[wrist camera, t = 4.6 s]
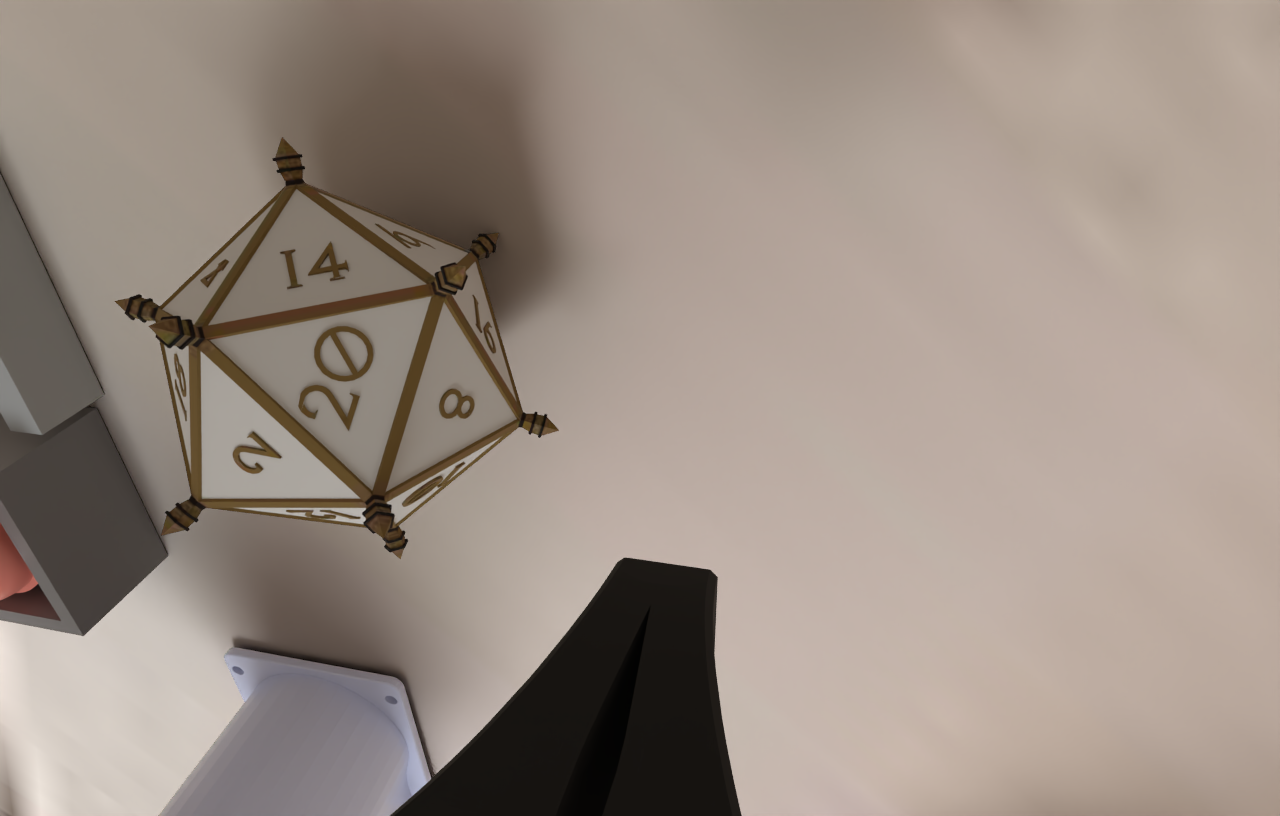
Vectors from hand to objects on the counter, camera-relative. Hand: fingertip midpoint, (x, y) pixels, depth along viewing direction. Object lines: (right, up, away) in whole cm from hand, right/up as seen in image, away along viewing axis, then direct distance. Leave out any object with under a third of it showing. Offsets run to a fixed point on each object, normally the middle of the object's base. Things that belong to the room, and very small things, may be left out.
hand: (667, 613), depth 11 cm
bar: (-19, +7, +12) cm, 24 cm away
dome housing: (-22, 0, +17) cm, 28 cm away
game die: (-6, +6, +10) cm, 13 cm away
